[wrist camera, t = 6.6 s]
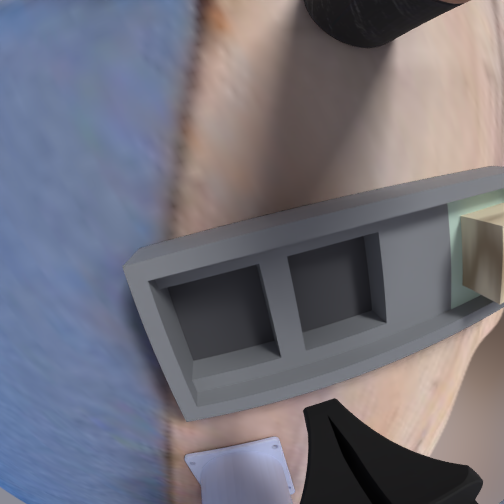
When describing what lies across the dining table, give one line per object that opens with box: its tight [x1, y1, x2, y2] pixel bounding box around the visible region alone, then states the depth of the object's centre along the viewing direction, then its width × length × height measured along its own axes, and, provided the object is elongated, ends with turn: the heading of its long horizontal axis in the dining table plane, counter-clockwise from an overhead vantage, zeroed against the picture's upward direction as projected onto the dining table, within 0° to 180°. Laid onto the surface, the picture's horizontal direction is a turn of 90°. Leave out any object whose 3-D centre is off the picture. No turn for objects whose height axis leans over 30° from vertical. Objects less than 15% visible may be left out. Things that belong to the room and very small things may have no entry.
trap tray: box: [123, 166, 504, 422], centre depth 19 cm, size 10×27×4 cm, turn 103°
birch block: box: [460, 203, 504, 304], centre depth 17 cm, size 5×5×4 cm
